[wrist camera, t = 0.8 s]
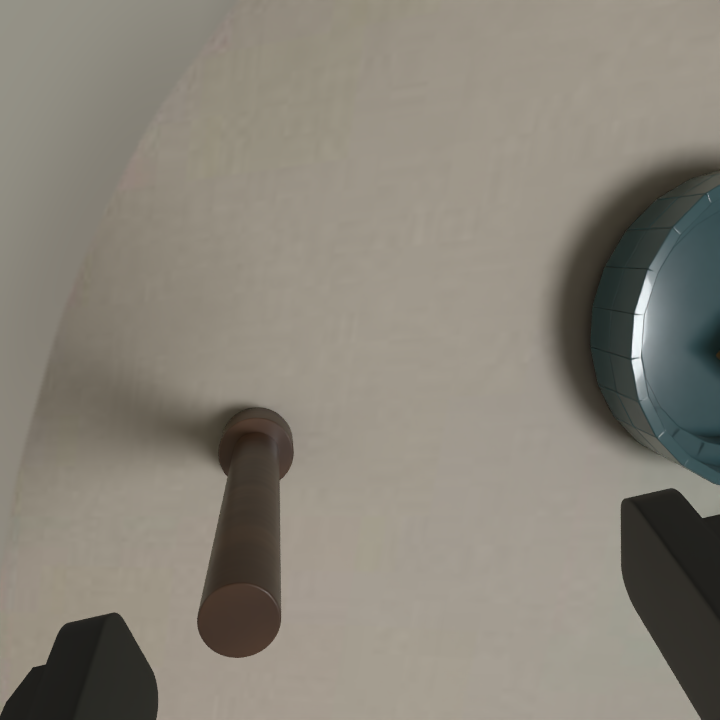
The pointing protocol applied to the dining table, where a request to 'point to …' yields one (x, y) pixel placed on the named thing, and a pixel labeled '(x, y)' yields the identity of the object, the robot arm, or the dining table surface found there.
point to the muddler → (247, 537)
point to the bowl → (665, 327)
